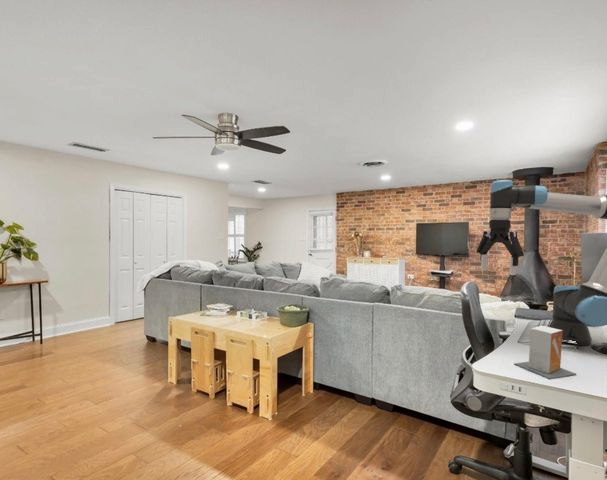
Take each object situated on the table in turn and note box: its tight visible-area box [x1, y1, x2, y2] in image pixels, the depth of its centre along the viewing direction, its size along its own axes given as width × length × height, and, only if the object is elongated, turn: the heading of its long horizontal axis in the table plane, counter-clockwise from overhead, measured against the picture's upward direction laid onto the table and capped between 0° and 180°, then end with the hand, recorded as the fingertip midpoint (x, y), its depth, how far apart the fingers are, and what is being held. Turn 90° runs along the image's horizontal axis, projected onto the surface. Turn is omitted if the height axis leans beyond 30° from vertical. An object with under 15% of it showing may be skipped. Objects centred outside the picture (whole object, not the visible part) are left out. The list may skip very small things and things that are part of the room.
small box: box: [528, 325, 563, 373], centre depth 115 cm, size 8×6×13 cm
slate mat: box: [514, 361, 577, 380], centre depth 115 cm, size 12×12×1 cm
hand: (497, 272), depth 141 cm, fingers open, 13 cm apart
